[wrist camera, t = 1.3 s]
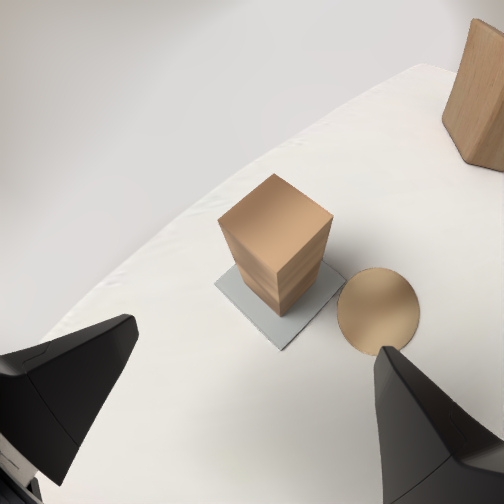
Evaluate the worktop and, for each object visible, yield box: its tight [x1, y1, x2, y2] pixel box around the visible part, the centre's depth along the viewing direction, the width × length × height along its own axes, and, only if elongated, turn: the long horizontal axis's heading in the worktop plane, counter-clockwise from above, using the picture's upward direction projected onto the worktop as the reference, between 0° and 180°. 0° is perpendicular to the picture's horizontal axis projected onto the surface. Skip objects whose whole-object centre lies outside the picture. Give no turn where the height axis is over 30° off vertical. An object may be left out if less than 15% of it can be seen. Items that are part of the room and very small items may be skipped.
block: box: [442, 19, 504, 172], centre depth 19 cm, size 10×10×20 cm
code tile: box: [214, 260, 346, 351], centre depth 23 cm, size 8×8×1 cm
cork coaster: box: [337, 268, 419, 356], centre depth 20 cm, size 8×8×1 cm
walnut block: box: [218, 174, 333, 317], centre depth 18 cm, size 4×4×10 cm
